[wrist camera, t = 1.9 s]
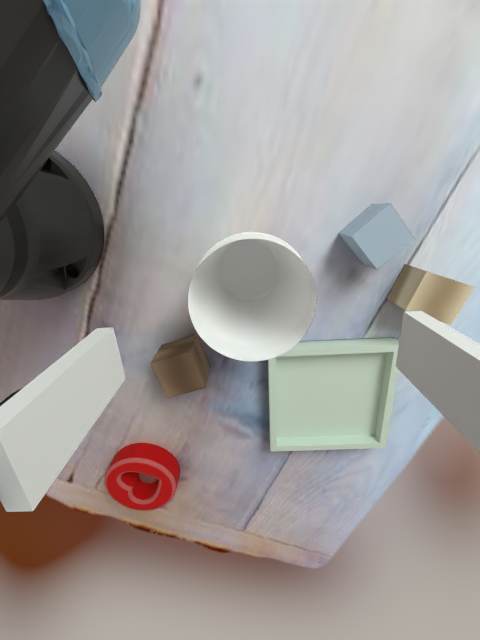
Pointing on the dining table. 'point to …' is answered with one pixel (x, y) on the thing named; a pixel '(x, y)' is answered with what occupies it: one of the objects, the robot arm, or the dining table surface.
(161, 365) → the walnut block
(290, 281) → the cup
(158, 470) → the decorative ornament
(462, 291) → the oak block
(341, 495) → the dining table surface
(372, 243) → the slate blue block
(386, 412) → the tray
